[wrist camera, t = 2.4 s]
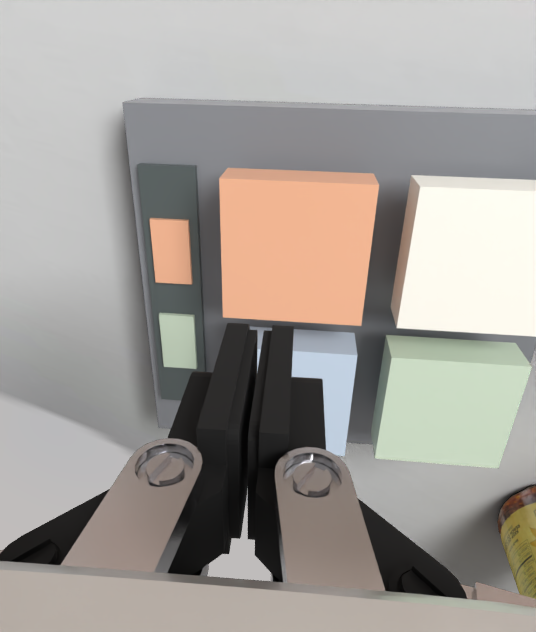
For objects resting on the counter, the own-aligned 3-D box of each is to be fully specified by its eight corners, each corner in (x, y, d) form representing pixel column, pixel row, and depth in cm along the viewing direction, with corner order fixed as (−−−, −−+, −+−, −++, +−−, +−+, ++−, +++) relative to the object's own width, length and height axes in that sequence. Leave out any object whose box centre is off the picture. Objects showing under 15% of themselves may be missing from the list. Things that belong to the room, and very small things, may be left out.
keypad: (581, 111, 22) (619, 119, 19) (486, 425, 30) (503, 462, 27) (141, 98, 23) (117, 103, 20) (169, 401, 32) (155, 434, 29)
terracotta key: (373, 173, 20) (379, 184, 18) (357, 305, 23) (361, 325, 21) (227, 167, 20) (219, 178, 18) (230, 297, 23) (222, 317, 21)
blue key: (354, 332, 23) (357, 355, 22) (342, 429, 26) (344, 456, 24) (230, 325, 24) (223, 346, 22) (232, 420, 27) (226, 446, 25)
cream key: (565, 180, 19) (589, 193, 18) (524, 314, 22) (541, 337, 20) (411, 174, 20) (420, 186, 18) (390, 306, 23) (396, 328, 21)
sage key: (515, 342, 23) (532, 367, 21) (485, 440, 26) (498, 468, 24) (386, 334, 23) (391, 357, 21) (370, 431, 26) (374, 458, 24)
